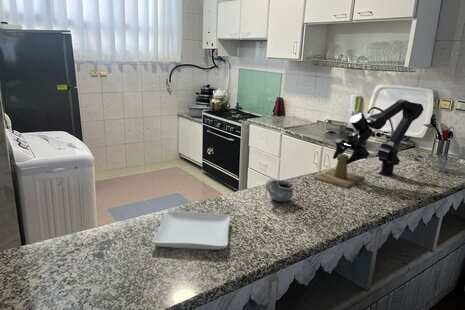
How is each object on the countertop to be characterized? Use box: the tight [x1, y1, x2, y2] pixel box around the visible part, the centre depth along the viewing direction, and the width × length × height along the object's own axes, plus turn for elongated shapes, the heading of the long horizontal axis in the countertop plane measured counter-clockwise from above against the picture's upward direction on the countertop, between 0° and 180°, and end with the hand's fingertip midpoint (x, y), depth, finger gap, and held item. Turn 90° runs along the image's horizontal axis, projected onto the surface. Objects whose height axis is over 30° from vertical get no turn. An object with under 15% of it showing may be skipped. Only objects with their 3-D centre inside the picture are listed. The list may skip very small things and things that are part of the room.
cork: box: [334, 153, 350, 179], centre depth 163 cm, size 6×6×11 cm
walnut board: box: [314, 168, 365, 189], centre depth 165 cm, size 20×16×1 cm
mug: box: [265, 177, 295, 203], centre depth 133 cm, size 10×12×10 cm
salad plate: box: [151, 211, 231, 250], centre depth 104 cm, size 21×21×3 cm
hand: (339, 161), depth 162 cm, fingers open, 9 cm apart
